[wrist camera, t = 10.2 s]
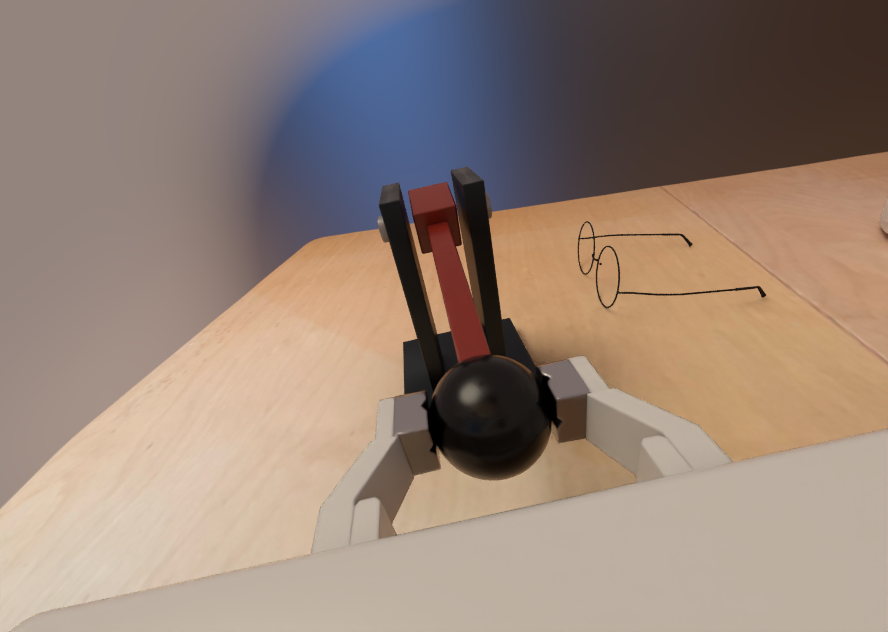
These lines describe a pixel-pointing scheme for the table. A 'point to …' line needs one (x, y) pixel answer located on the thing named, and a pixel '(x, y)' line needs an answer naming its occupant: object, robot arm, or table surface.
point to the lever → (476, 367)
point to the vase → (884, 218)
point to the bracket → (437, 351)
